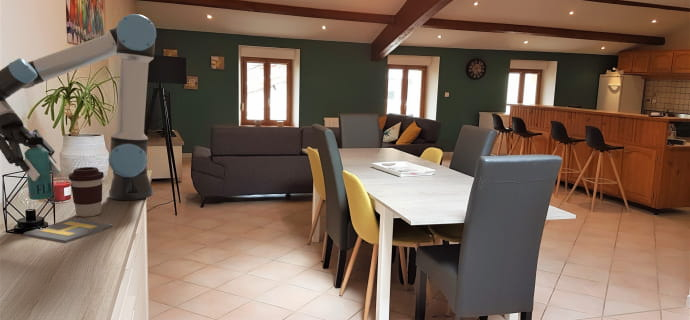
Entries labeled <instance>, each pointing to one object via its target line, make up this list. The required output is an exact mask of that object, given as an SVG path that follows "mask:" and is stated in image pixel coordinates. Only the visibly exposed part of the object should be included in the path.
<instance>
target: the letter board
mask: <svg viewBox="0 0 690 320" xmlns="http://www.w3.org/2000/svg"><path fill="white" fill-rule="evenodd" d="M54 224H55V223H51V224H49V225H47V226H48V227H46V228H42V227H39V228H40V229H38V228H35V229H31V230H28V231H25V232H23V235H24V236H28V237H32V238H38V239H43V240H50V241H54V242H60V243H69V242H72V241H75V240H77V239H80V238H83V237H86V236H89V235H92V234H96V233H98V232H101V231H103V229H104V230H107V229H109V228H112V227H113V224H109V223H104V222H97V221H92V220H87V219H86V220H85V219H78V218H69V219H65V220H62V221H59V222H56V224H55V225H54ZM106 228H107V229H106ZM100 230H101V231H100Z"/></svg>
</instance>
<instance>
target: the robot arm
mask: <svg viewBox="0 0 690 320" xmlns="http://www.w3.org/2000/svg"><path fill="white" fill-rule="evenodd" d="M156 38H157V29H156V26H155V24H154V23H153V22H152V20H151V19H149V18H148V17H147V16H144V15H142V14H137V13H130V14H127V15H125V16H124V17H122V18H121V19H120V20H119V22H118V23H117V26H116V27H114V28H112V29H108V31H107V33H106V34H104V35H101V36H98V37H95V38H93V39H90V40H87V41H83V42H81V43H78V44H76V45H72V46H70V47H68V48H65V49H62V50H59V51H56V52H53V53H51V54H48V55H45V56H42V57H39V58H37V59H34V60H31V61H26V60H25V59H24V58H20V57H19V58H16V59H15V60H13V61H10V62H9V64H7V65H5V67H3V68H1V69H0V152H1V153H2V154H3V157H4V158H5V159H6V161H7V163H8V164H10V165H13V164H14V166H15V167H20V168H21V170H22V171H23V172H24V173H26V175H27V174H28V175H29V176H30V177H31V179H32V180H33V181H36V180H37V179H38V177H39V176H40V174H39V173H38V172H37V171H36V169H35V168H34V167H33V165H32V164H31V163H30V162H29V160H28V159H25V157H24V155H23V152H22V150H21V149H22V148H21V146H20V144H22V145H23V146H25V147H28V149H30V148H45V149H46V150H48V152H49V153H48V155H49V163H50V168H51V169H50V171H51V172H50V173H52V175H53V176H54V178H55V177H58V176H59V175H60V173H61V172H62V170H61V168H60V167H59V166H58V165H57V161H56V160H55V159H54V157H53V155H54V154H55V153H56V152H55V150H54V149H53V147H52V146H51V145H50V144H49V143H48V142H47V141H46V140H45V139H44V138H43V136H42V135H41V134H40V131H39V130H38V129H34V130H29V129H28V128H27V127H25V126H24V122H23V120H22V119H21V118H20V116H18V114H17V113H16V112H15V110H14V109H13V108H12V106H11V105H10V104H9V103H8V101H7V100H6V99H8V98H9V97H11V96H12V95H15V93H17V92H18V91H20V90H22V89H30V88H33V87H34V86H36V85H39V84H41V83H43V82H47V81H49V80H52V79H55V78H57V77H60V76H63V75H65V74H69V73H71V72H73V71H77V70H79V69H82V68H85V67H87V66H90V65H93V64H96V63H99V62H101V61H104V60H107V59H109V58H112V57H115V56H118V57H119V58H120V59H119V60H120V66H119V67H120V69H119V70H120V71H119V86H118V99H117V100H118V102H117V116H116V117H117V118H116V129H115V132H113V133H112V134H110V135H111V136H110V149H109V151H110V152H109V155H108V165H109V167H110V168H111V170H112V174H113V175H112V181H111V185H110V189H108V190H109V191H108V197H109V198H110V199H111V200H116V201H135V200H143V199H147V198H150V197H152V196H153V195H154V189H153V187H152V185H151V181H150V178H149V176H148V166H147V165H148V145H149V144H148V142H149V137H148V136H147V135H146V134H145V118H146V103H147V93H148V91H147V90H148V75H149V63H151V61H153V60H154V58H155V48H156V47H155V45H156ZM31 137H42V138H43V142H44V144H40V145H28V144H27V142H28V138H31ZM109 198H108V199H109Z"/></svg>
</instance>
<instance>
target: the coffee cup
mask: <svg viewBox="0 0 690 320" xmlns="http://www.w3.org/2000/svg"><path fill="white" fill-rule="evenodd" d="M104 177H105V176H104V172H103V171H100V170H99V168H98V167H95V166H83V167H77V168H74V169H73V171H72V172H71V173H69V174H68V181H70V182H71V185H70V186H71V194H72V200H73V204H74V208H75V214H76V216H77V217H81V218H88V217H94V216H98V215H100V214H101V213H102V201H103V183H102V182H103V181H102V180H103V178H104Z"/></svg>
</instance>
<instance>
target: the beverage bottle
mask: <svg viewBox="0 0 690 320" xmlns="http://www.w3.org/2000/svg"><path fill="white" fill-rule="evenodd" d="M43 139H44V138H43V136H42V137H31V138H28V140H27V141H28V142H27V144H28V145H40V144H44V142H43ZM23 153H24V159H28V160H29V162H30V163H31V164H32V165H33V167H34V168H35V169H36V171H37V172H38V173H39V174H40V176H39V177H38V179H37V180H36V181H33V180H32V179H31V177H30V176H29V175H28V174H27V173H26V176H27V177H26V178H27V189H28V190H27V191H28V192H27V193H28V195H27V196H28V197H29V199H30V200H33V201H37V200H38V201H39V200H46V199H50V198H52V197H53V195H54V191H53V183H52V182H53V181H52V175H51V173H52V172H51V171H50V169H51V168H50V163H49V155H48V153H49V152H48V150H46V149H45V148H28V149H27V150H25V151H24V152H23Z"/></svg>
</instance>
